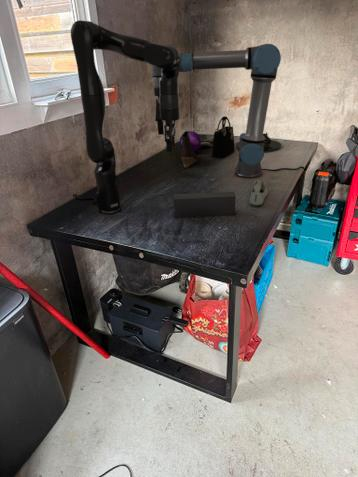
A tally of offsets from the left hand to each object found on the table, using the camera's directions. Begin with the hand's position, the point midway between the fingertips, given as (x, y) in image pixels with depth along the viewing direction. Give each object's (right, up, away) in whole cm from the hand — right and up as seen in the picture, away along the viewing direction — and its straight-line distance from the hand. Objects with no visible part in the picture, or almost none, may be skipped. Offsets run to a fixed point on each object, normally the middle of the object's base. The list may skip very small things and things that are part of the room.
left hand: (170, 148), depth 134 cm
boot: (+10, +13, +80) cm, 81 cm away
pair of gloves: (+27, +36, +119) cm, 128 cm away
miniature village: (+60, +31, +106) cm, 125 cm away
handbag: (+34, +21, +92) cm, 100 cm away
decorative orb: (+12, +24, +100) cm, 103 cm away
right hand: (-4, +19, +37) cm, 42 cm away
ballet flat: (+42, -17, +26) cm, 52 cm away
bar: (+15, -26, +14) cm, 33 cm away
